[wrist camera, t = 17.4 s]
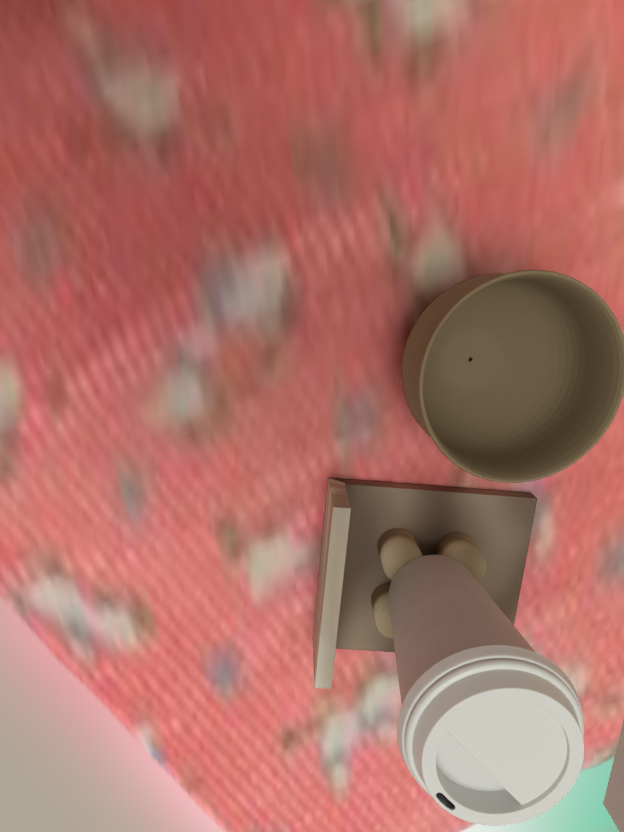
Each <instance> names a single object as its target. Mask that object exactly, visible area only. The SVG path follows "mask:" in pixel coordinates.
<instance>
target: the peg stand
mask: <svg viewBox="0 0 624 832" xmlns="http://www.w3.org/2000/svg"><path fill="white" fill-rule="evenodd" d="M536 502H537V498H536V497H535V496H534V495H533V494H531V493H524V492H511V491H497V490H484V489H471V488H457V487H444V486H431V485H418V484H404V483H391V482H378V481H365V480H351V479H338V478H328V487H327V497H326V507H325V517H324V528H323V538H322V548H321V558H320V568H319V578H318V588H317V598H316V608H315V618H314V628H313V660H314V683H315V688H327V689H331V686H332V676H333V667H334V658H335V649H352V650H368V651H384V652H395V648H394V640H393V633H392V625H391V618H390V610H389V602H388V592H389V587H390V584H391V582H392V580H393V578H394V576H395V575H396V573H397V572H398V571H399V570H400V569H401V568H402V567H403V566H404V565H405V564H407V563H408V562H410V561H412V560H414V559H416V558H419V557H422V556H426V555H443V556H447V557H451V558H453V559H455V560H457V561H459V562H460V563H461V564H463V565H464V566H465V567H466V568H467V569H468V570H469V572H470V573H471V574H472V575H473V576H474V578H475V579H476V580H477V581H478V583H479V584H480V585H481V586H482V587H483V589H484V590H485V591H486V592H487V594H488V595H489V596H490V597H491V599H492V600H493V601H494V602H495V603H496V605H497V606H498V607H499V608H500V610H501V611H502V612H503V613H504V614H505V616H506V617H507V618H508V619H509V621H510V622H511V623H512V624H513V625H514V621H515V616H516V610H517V605H518V599H519V594H520V589H521V583H522V578H523V572H524V567H525V562H526V556H527V551H528V545H529V540H530V535H531V529H532V524H533V518H534V513H535V508H536Z"/></svg>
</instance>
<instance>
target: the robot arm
mask: <svg viewBox="0 0 624 832" xmlns="http://www.w3.org/2000/svg"><path fill="white" fill-rule="evenodd" d="M603 804H604V806H605V808H606V809H607V811H608V813H609V814H610V816H611V818H612V819H613V821H614V823H615V825H616V826H617V828H618V830H619V831H620V832H624V720H623V724H622V728H621V733H620V737H619V741H618V745H617V749H616V753H615V757H614V762H613V766H612V770H611V774H610V778H609V782H608V786H607V790H606V795H605V798H604V803H603Z"/></svg>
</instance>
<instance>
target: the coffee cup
mask: <svg viewBox="0 0 624 832" xmlns="http://www.w3.org/2000/svg"><path fill="white" fill-rule="evenodd" d="M388 602H389V610H390V618H391V625H392V633H393V640H394V648H395V655H396V663H397V671H398V678H399V686H400V694H401V702H402V706H401V709H400V712H399V716H398V722H397V741H398V746H399V750H400V753H401V756H402V758H403V760H404V762H405V764H406V766H407V767H408V769H409V771H410V772H411V774H412V776H413V777H414V778H415V780H416V781H417V782H418V783H419V784H420V786H421V787H422V788H423V789H424V790H425V791H426V792H427V793H428V794H429V795H430V796H432V797H433V798H434V800H435V801H436V802H437V803H438V804H439V805H440V806H441V807H442V808H444V809H445V810H446V811H447V812H449V813H451V814H452V815H454V816H456V817H458V818H460V819H462V820H465V821H468V822H471V823H475V824H482V825H492V826H499V825H509V824H515V823H519V822H523V821H526V820H529V819H531V818H534V817H536V816H538V815H540V814H542V813H544V812H545V811H547V810H549V809H550V808H552V807H553V806H554V805H556V804H557V803H558V802H559V801H560V800H561V799H562V798H563V797H564V796H565V795H566V794H567V793H568V792H569V790H570V789H571V788H572V786H573V784H574V783H575V781H576V780H577V777H578V775H579V773H580V770H581V767H582V764H583V758H584V742H583V739H584V723H583V714H582V709H581V706H580V702H579V699H578V696H577V693H576V690H575V688H574V686H573V684H572V683H571V681H570V680H569V678H568V677H567V676H566V674H565V673H564V672H563V671H562V670H561V669H560V668H559V667H558V666H557V665H556V664H554V663H553V662H552V661H550V660H549V659H547V658H546V657H544V656H542V655H540V654H538V653H536V652H535V651H534V650H533V648H532V647H531V646H530V645H529V644H528V642H527V641H526V640H525V639H524V638H523V636H522V635H521V634H520V633H519V631H518V630H517V629H516V628H515V627H514V625H513V624H512V623H511V622H510V621H509V619H508V618H507V617H506V616H505V614H504V613H503V612H502V611H501V610H500V608H499V607H498V606H497V605H496V603H495V602H494V601H493V600H492V599H491V597H490V596H489V595H488V594H487V592H486V591H485V590H484V589H483V587H482V586H481V585H480V584H479V583H478V581H477V580H476V579H475V578H474V576H473V575H472V574H471V573H470V572H469V570H468V569H467V568H466V567H465V566H464V565H463V564H461V563H460V562H459V561H457V560H455V559H453V558H451V557H447V556H443V555H426V556H422V557H419V558H416V559H414V560H412V561H410V562H408V563H407V564H405V565H404V566H403V567H402V568H401V569H400V570H399V571H398V572H397V573H396V575H395V576H394V578H393V580H392V582H391V584H390V587H389V592H388Z"/></svg>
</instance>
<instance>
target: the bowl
mask: <svg viewBox="0 0 624 832" xmlns="http://www.w3.org/2000/svg"><path fill="white" fill-rule="evenodd" d="M402 383H403V390H404V394H405V398H406V401H407V404H408V406H409V409H410V411H411V413H412V415H413V416H414V418H415V420H416V421H417V423H418V424H419V425H420V426H421V428H422V429H423V430H424V431H425V432H426V433H427V434H428V435H429V436H430V437H431V438H432V439H433V441H434V443H435V444H436V445H437V447H438V448H439V449H440V451H441V452H442V453H443V454H444V455H445V456H446V457H447V458H448V459H449V460H450V461H451V462H453V463H454V464H455V465H456V466H458V467H459V468H461V469H462V470H464V471H466V472H468V473H470V474H472V475H474V476H477V477H479V478H483V479H486V480H490V481H495V482H503V483H521V482H529V481H534V480H538V479H542V478H545V477H548V476H550V475H553V474H555V473H557V472H559V471H561V470H563V469H565V468H567V467H569V466H570V465H572V464H573V463H575V462H576V461H578V460H579V459H580V458H582V457H583V456H584V455H585V454H586V453H587V452H588V451H590V450H591V449H592V447H593V446H594V445H595V444H596V443H597V442H598V441H599V440H600V438H601V437H602V436H603V435H604V433H605V432H606V430H607V429H608V427H609V426H610V424H611V422H612V421H613V419H614V417H615V415H616V413H617V410H618V408H619V406H620V403H621V400H622V397H623V393H624V337H623V334H622V331H621V328H620V326H619V323H618V321H617V319H616V317H615V316H614V314H613V312H612V311H611V309H610V308H609V307H608V305H607V304H606V303H605V301H604V300H603V299H602V298H601V297H600V296H599V295H598V294H597V293H595V292H594V291H593V290H592V289H591V288H589V287H588V286H586V285H585V284H583V283H582V282H580V281H578V280H576V279H574V278H572V277H569V276H566V275H563V274H560V273H556V272H551V271H544V270H525V271H517V272H512V273H508V274H489V275H482V276H478V277H474V278H471V279H468V280H465V281H463V282H460V283H459V284H457V285H455V286H453V287H451V288H450V289H448V290H447V291H445V292H444V293H442V294H441V295H440V296H438V297H437V298H436V299H435V300H434V301H433V302H432V303H431V304H430V305H429V306H428V307H427V308H426V309H425V310H424V312H423V313H422V314H421V316H420V317H419V318H418V320H417V322H416V323H415V325H414V327H413V329H412V331H411V333H410V335H409V337H408V340H407V343H406V346H405V350H404V354H403V361H402Z"/></svg>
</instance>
